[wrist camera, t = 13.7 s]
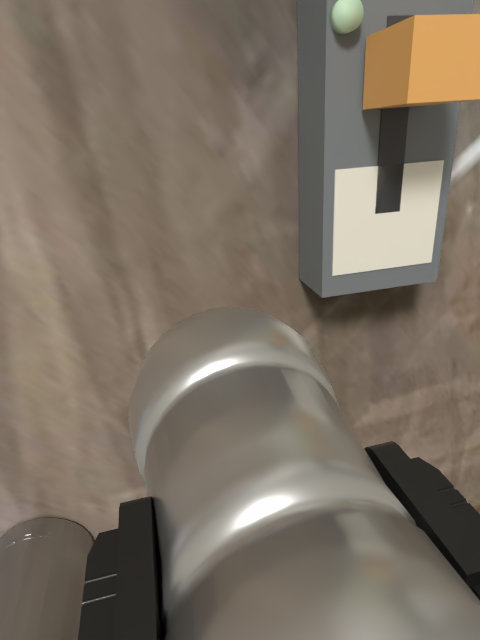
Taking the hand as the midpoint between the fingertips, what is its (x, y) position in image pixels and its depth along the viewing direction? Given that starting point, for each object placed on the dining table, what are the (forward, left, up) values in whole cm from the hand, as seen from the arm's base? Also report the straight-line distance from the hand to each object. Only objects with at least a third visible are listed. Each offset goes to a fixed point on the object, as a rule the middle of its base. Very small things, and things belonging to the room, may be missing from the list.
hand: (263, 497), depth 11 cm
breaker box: (+6, -15, -26) cm, 31 cm away
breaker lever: (+11, -15, -20) cm, 28 cm away
